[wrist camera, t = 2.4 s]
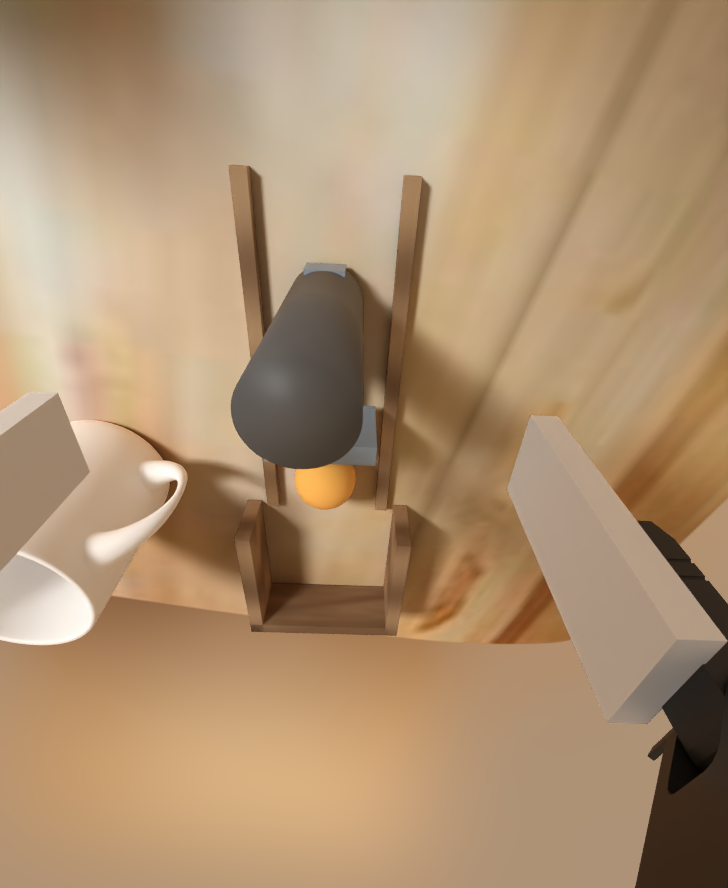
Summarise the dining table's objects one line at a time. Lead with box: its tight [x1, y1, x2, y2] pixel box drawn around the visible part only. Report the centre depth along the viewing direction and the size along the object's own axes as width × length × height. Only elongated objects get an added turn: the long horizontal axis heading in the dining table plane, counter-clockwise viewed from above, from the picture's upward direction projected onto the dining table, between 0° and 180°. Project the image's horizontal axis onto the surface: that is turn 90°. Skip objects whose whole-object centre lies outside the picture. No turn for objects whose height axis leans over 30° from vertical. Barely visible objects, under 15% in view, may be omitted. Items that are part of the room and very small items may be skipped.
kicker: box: [231, 263, 377, 469], centre depth 19 cm, size 9×6×12 cm, turn 177°
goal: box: [234, 500, 412, 636], centre depth 33 cm, size 11×12×4 cm
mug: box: [0, 420, 187, 645], centre depth 25 cm, size 9×12×11 cm
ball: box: [295, 464, 356, 509], centre depth 27 cm, size 4×4×4 cm
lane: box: [229, 165, 422, 510], centre depth 25 cm, size 21×9×1 cm, turn 177°
